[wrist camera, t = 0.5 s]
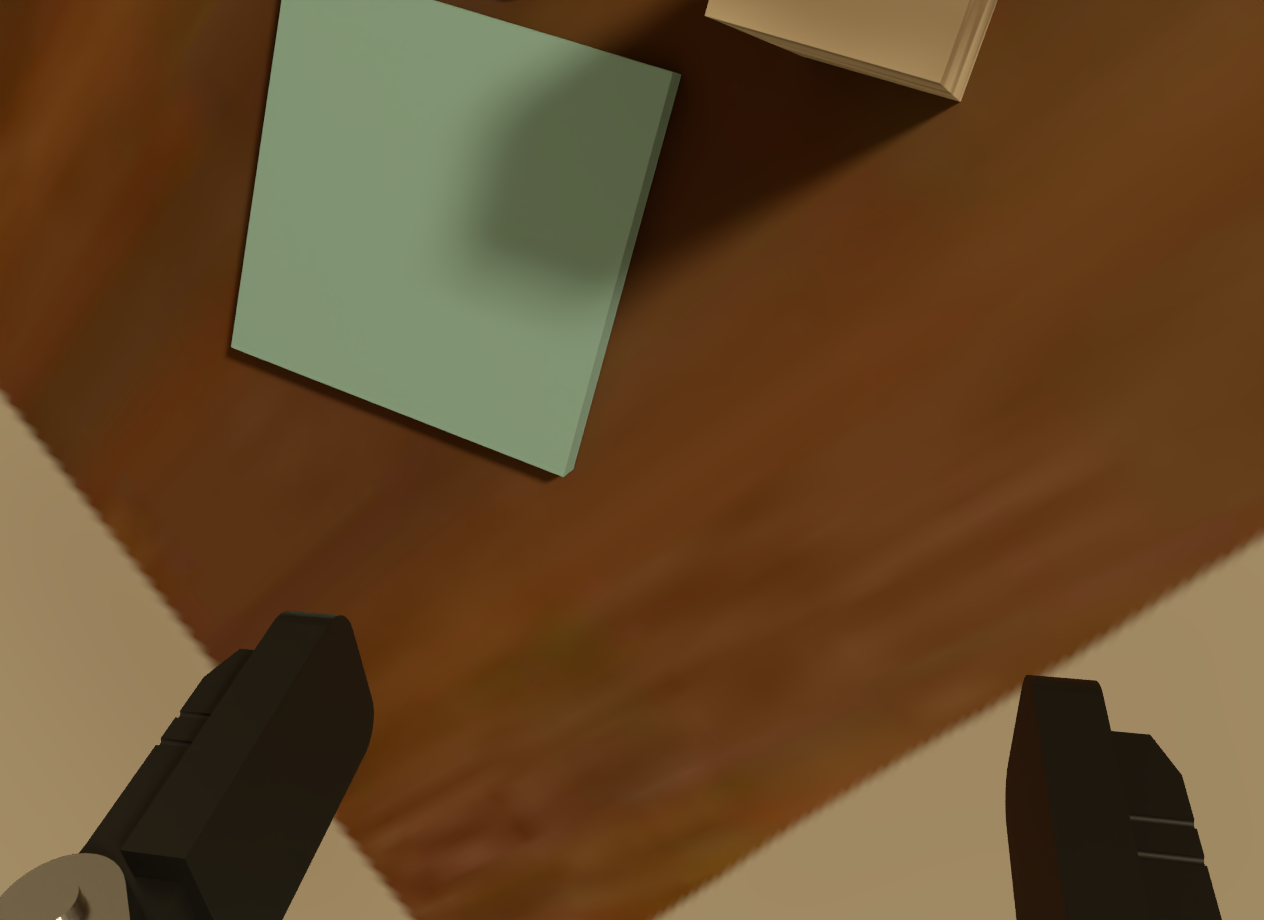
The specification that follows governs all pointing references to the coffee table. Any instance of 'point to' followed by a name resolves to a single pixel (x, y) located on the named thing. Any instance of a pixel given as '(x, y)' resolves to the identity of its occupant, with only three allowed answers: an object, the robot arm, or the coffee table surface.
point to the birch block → (873, 35)
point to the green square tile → (448, 215)
